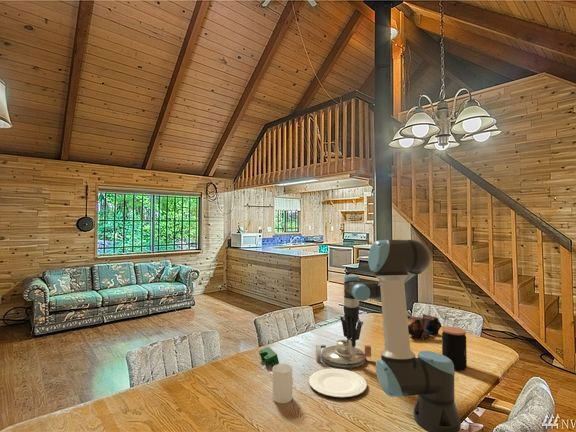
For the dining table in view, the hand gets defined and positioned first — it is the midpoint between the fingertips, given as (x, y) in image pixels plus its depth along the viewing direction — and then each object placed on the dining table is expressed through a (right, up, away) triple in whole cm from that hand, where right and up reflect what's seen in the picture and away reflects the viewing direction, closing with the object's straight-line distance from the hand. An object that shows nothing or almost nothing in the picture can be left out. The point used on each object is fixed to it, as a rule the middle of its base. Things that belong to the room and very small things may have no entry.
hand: (351, 352), depth 162 cm
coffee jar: (+50, -5, -5) cm, 50 cm away
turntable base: (-4, -5, +4) cm, 7 cm away
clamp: (-42, -5, 0) cm, 42 cm away
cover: (-3, -2, +4) cm, 5 cm away
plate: (-11, -5, -23) cm, 26 cm away
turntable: (-2, -3, +4) cm, 5 cm away
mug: (-35, -4, -31) cm, 47 cm away
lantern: (+50, -7, +39) cm, 64 cm away
